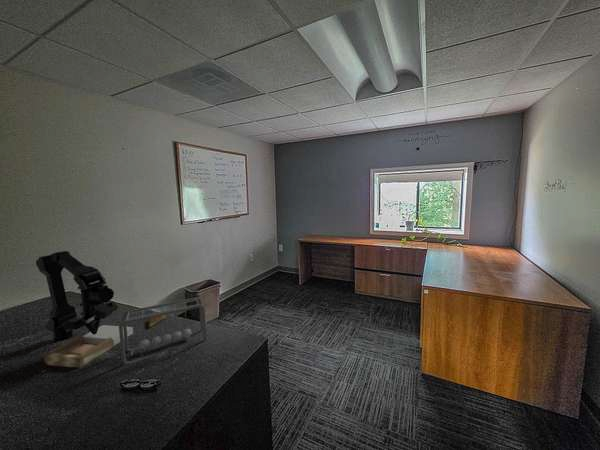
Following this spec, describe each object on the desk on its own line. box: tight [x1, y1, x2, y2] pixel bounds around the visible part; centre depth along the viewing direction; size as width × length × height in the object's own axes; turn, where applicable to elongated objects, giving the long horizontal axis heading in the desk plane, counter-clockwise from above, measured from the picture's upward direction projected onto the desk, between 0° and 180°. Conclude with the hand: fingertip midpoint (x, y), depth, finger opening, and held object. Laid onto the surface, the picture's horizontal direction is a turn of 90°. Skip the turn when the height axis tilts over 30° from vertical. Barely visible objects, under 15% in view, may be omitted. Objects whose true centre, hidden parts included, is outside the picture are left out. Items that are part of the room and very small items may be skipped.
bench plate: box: [83, 324, 134, 347], centre depth 110 cm, size 16×10×3 cm, turn 82°
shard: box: [148, 315, 167, 328], centre depth 124 cm, size 11×8×2 cm
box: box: [43, 334, 114, 369], centre depth 98 cm, size 16×14×4 cm
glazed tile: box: [69, 343, 96, 355], centre depth 99 cm, size 6×6×2 cm
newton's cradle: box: [118, 296, 207, 365], centre depth 102 cm, size 30×10×18 cm, turn 120°
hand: (94, 334), depth 104 cm, fingers closed
